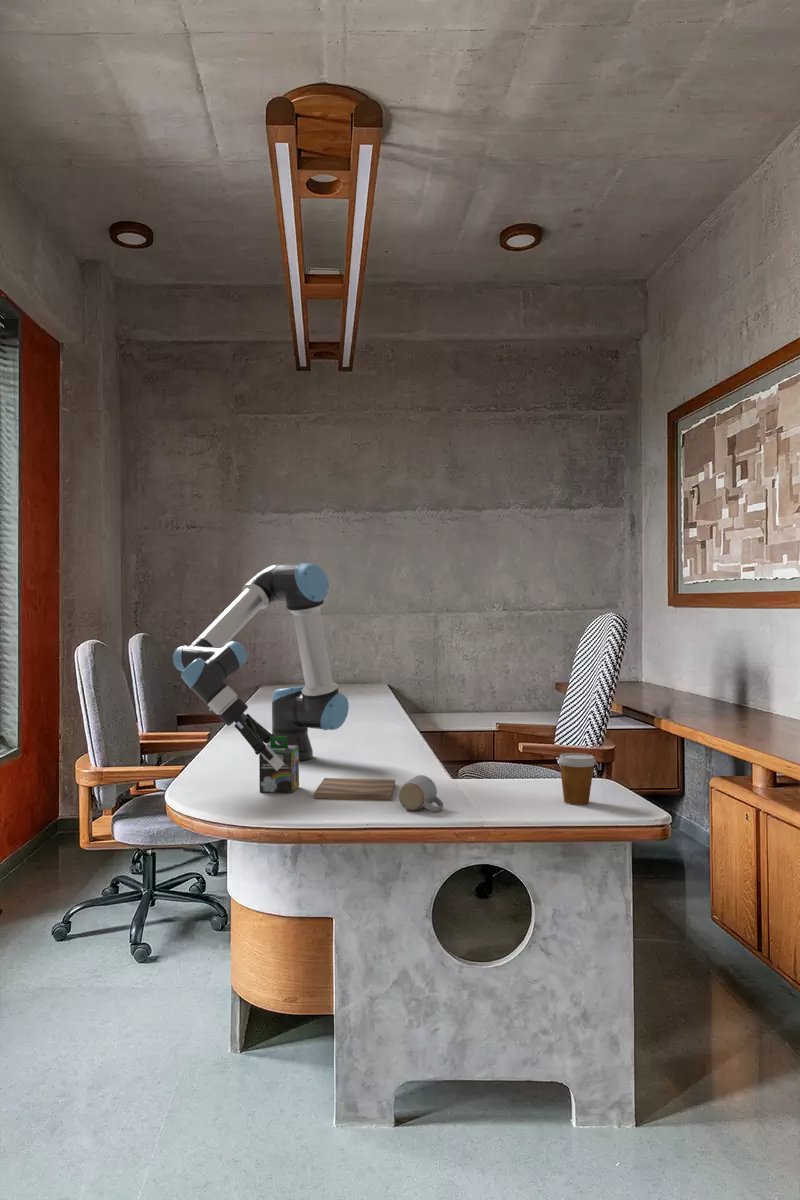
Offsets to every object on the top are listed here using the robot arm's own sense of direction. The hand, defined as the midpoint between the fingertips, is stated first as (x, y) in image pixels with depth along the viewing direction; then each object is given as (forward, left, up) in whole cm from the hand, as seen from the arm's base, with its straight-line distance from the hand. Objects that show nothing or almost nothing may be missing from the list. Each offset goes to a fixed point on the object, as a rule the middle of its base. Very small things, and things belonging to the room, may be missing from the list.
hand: (283, 762), depth 242 cm
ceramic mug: (+18, +38, -8) cm, 43 cm away
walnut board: (0, +20, -7) cm, 21 cm away
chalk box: (0, -1, -8) cm, 8 cm away
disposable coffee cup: (+7, +78, -8) cm, 79 cm away
